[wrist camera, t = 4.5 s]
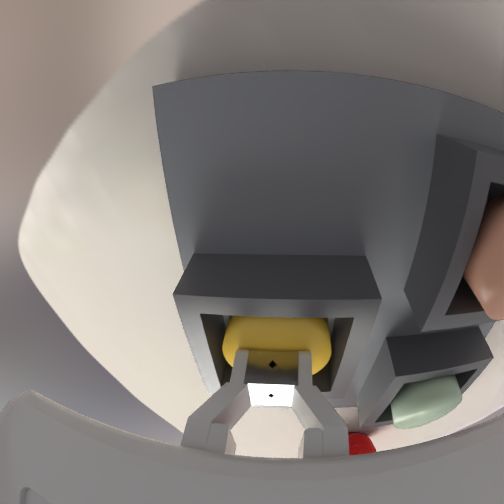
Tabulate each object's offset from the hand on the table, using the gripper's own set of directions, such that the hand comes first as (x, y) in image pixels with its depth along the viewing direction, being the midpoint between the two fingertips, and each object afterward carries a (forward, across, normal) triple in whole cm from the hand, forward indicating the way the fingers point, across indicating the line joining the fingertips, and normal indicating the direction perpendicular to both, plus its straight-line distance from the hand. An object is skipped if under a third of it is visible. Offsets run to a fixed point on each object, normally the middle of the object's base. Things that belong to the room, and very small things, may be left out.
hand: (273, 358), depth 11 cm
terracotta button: (+1, -9, -5) cm, 10 cm away
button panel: (+4, -5, 0) cm, 7 cm away
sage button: (+1, -9, +5) cm, 10 cm away
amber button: (+2, 0, 0) cm, 2 cm away
